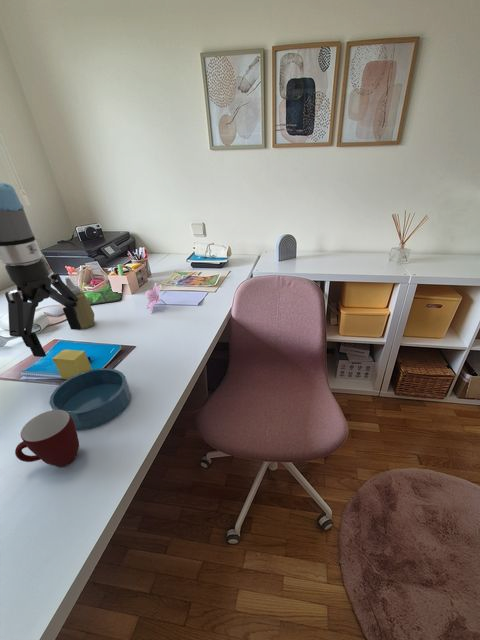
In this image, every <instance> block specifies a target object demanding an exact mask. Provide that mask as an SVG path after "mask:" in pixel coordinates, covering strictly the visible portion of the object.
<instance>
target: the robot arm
mask: <svg viewBox="0 0 480 640" xmlns="http://www.w3.org/2000/svg"><path fill="white" fill-rule="evenodd" d="M42 257H43V255H42V252H41V249H40V247H39V244H38V242H37V240H36V238H35V235H34V233H33V230H32V228H31V225H30V223H29V220H28V217H27V214H26V212H25V209H24V205H23V203H22V202H21V200H20V198H19V196H18V194H17V192H16V189H15V188H14V186H12V185H11V184H10V183H6V182H0V261H1V262H2V263H3V264H4V265H5V266H4V269H5V270H6V273H7V275H8V277H9V279H10V281H11V282H13V283H14V285H15V286H16V290H13V291H5V293H4V296H5V298H6V301H7V308H8V309H7V310H8V312H7V313H8V331H9V336H10V337H16V338H17V337H19V338H21V339H22V341H23V343H24V345H25V347H26V348H29V349H30V351H31V353H32V355H33V357H35V358H45V357H46V356H47V354H46V352H45V349H44V348H43V346H42V344H41V342H40V339H39V337H38V335H37V333H36V331H35V332H33V326H34V321H35V315H36V310H37V308H38V307H39V303H42V302H43V301H44V300H47V299H49V298H50V299H52V300H54V301H55V302H56V303H58V304H61V305H62V306H64V307H63V308H62V311H63V313H64V316H65V318H66V321H67V323H68V325H69V328H70V330H71V331H72V330H73V331H81V330H82V329H81V326H80V323H79V321H78V318H77V313H76V310H75V307H77V305H78V304H77V303H75V302H78V298H77V297H76V296H75V295H74V293H73V292H72V291H71V290H70V289H69V288H68V287H67V286H66V283H65V282H64V281H63V279H62V278H61V275H60V274H59V273H57V272H50V271H49V269H48V266H47V263H46V261H45V260H44V259H43V258H42ZM52 286H53V287H52ZM65 306H66V307H65Z"/></svg>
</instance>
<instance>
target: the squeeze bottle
mask: <svg viewBox="0 0 480 640" xmlns="http://www.w3.org/2000/svg"><path fill="white" fill-rule="evenodd" d="M65 285H66V286H67V287H68V288H69V289H70V290H71V291H72V292H73V293H74V295H75V296H76V297H77V298H78V302H75V303H77V304H78V305H77V307H75V310H76V313H77V318H78V321H79V323H80V326H81V330H82V329H83V330H84V329H88V328H90V327H92V326H94V324H95V312H94V310H93V308H92V305H90V304H89V302H88V300H87V298H86V296H85V294H84V293H83V292H80V289H79V287H78V286H75V284H74V283H73V281H72V280H71V278H70V277H65Z"/></svg>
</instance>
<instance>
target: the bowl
mask: <svg viewBox="0 0 480 640" xmlns="http://www.w3.org/2000/svg"><path fill="white" fill-rule="evenodd" d="M128 383H129V382H128V380H127V377H126V376H125V374H124V373H123V372H122V371H120V370H119V369H114V368H108V367H107V368H105V367H104V368H94V369H92V370H89V371H86V372H83V373H80V374H77V375H75V376H73V377H71V378H69V379H65V380H64V381H63V382H61V383H60V384H59V385H58V386H57V387H56V388H55V389H53V391H52V393H51V395H50V397H49V401H48V403H49V406H50V408H51V411H52V410H64V411H67V412H68V413H69V414H70V416H71V418H72V420H73V422H74V424H75V427H76V431H77V430H79V431H80V430H88V429H93V428H97V427H99V426H102V425H105V424H106V423H109V422H110V421H112V420H114V419H115V418H117V417H118V416H119V415H121V414H122V413H123V412H124V411H125V410H126V409H127V407H128V405H130V402H131V400H132V394H131V388H130V385H129V384H128Z"/></svg>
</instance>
